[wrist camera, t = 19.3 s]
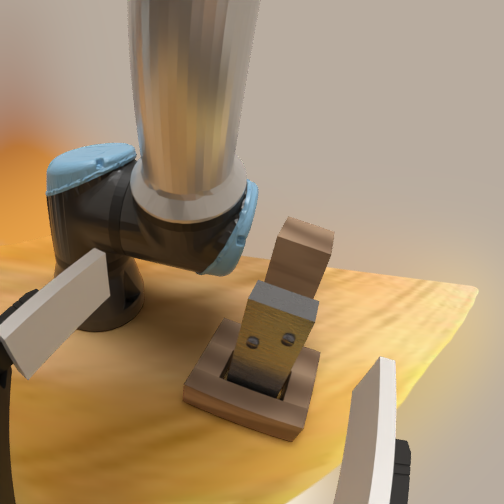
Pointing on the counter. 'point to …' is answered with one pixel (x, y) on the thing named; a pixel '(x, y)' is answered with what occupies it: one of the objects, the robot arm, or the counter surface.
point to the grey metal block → (271, 338)
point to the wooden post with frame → (225, 338)
